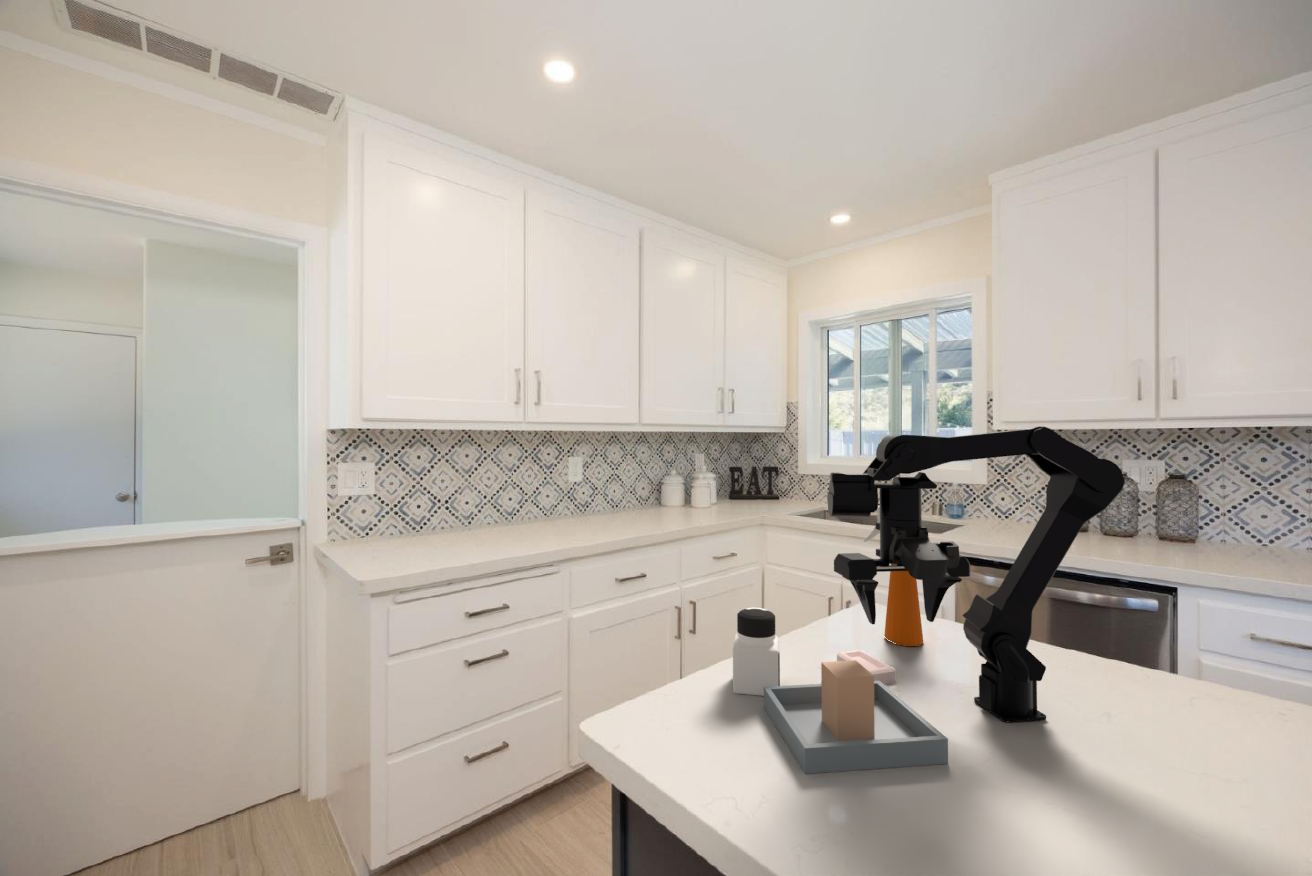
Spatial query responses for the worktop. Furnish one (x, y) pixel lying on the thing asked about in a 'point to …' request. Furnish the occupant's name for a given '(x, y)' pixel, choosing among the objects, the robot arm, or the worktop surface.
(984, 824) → the worktop surface
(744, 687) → the medicine bottle
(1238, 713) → the worktop surface
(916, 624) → the spray bottle
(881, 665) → the soap bar
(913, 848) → the worktop surface
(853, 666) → the carton
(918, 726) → the tray
